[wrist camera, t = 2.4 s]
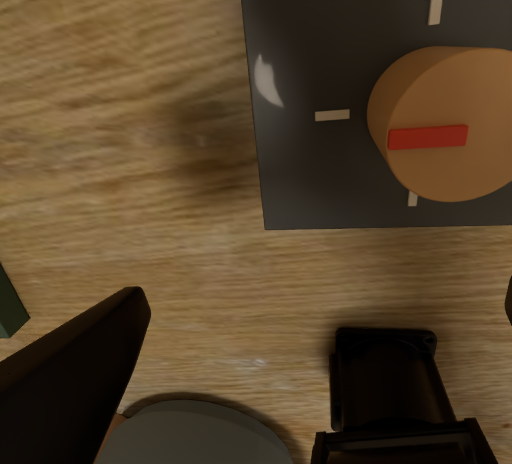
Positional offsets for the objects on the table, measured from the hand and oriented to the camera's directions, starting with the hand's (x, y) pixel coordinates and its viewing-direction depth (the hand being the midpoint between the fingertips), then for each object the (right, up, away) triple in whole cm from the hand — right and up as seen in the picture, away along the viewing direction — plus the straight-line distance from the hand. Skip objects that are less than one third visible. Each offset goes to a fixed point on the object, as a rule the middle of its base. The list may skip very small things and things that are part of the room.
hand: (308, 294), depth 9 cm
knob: (+5, +7, +5) cm, 10 cm away
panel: (+6, +8, +8) cm, 13 cm away
